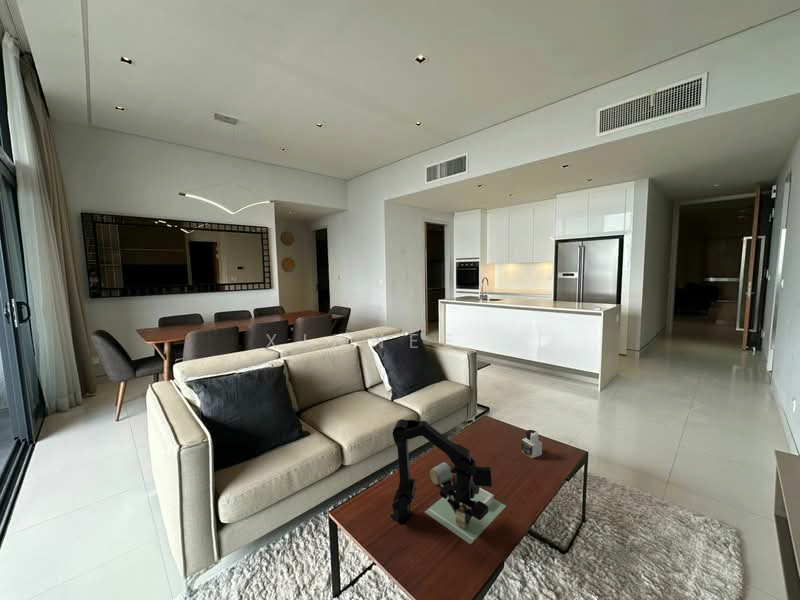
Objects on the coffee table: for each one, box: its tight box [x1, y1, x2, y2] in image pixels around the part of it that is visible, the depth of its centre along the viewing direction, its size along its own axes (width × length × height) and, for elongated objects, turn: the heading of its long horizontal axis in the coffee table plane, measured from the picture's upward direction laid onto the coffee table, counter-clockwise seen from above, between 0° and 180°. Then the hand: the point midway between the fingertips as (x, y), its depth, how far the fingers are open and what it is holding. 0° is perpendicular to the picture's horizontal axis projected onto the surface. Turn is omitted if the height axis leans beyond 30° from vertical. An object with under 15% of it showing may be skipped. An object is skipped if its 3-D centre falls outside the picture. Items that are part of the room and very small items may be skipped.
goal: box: [477, 487, 495, 507], centre depth 140 cm, size 6×12×3 cm, turn 44°
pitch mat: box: [424, 491, 507, 545], centre depth 134 cm, size 26×22×1 cm
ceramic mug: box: [429, 461, 454, 488], centre depth 150 cm, size 11×8×8 cm
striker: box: [456, 504, 471, 529], centre depth 126 cm, size 4×4×8 cm
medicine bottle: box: [521, 429, 543, 459], centre depth 171 cm, size 7×7×12 cm
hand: (463, 520), depth 126 cm, fingers closed on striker, 4 cm apart
